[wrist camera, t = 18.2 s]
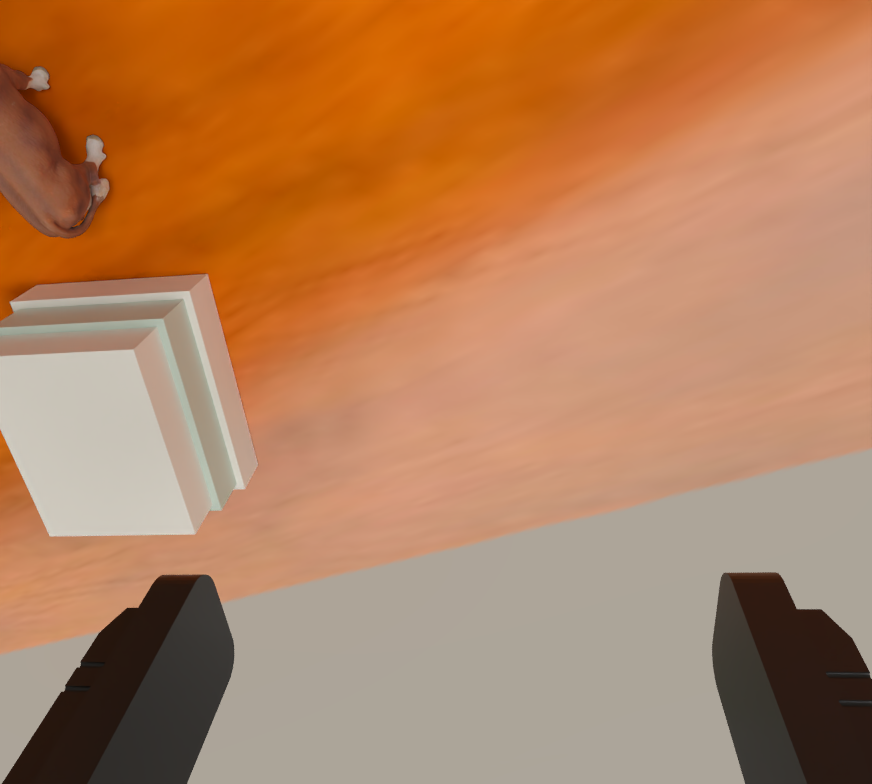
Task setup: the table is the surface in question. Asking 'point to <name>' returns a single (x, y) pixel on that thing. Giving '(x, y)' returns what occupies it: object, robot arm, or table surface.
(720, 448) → the table surface
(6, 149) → the bull figurine
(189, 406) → the white stepped block
